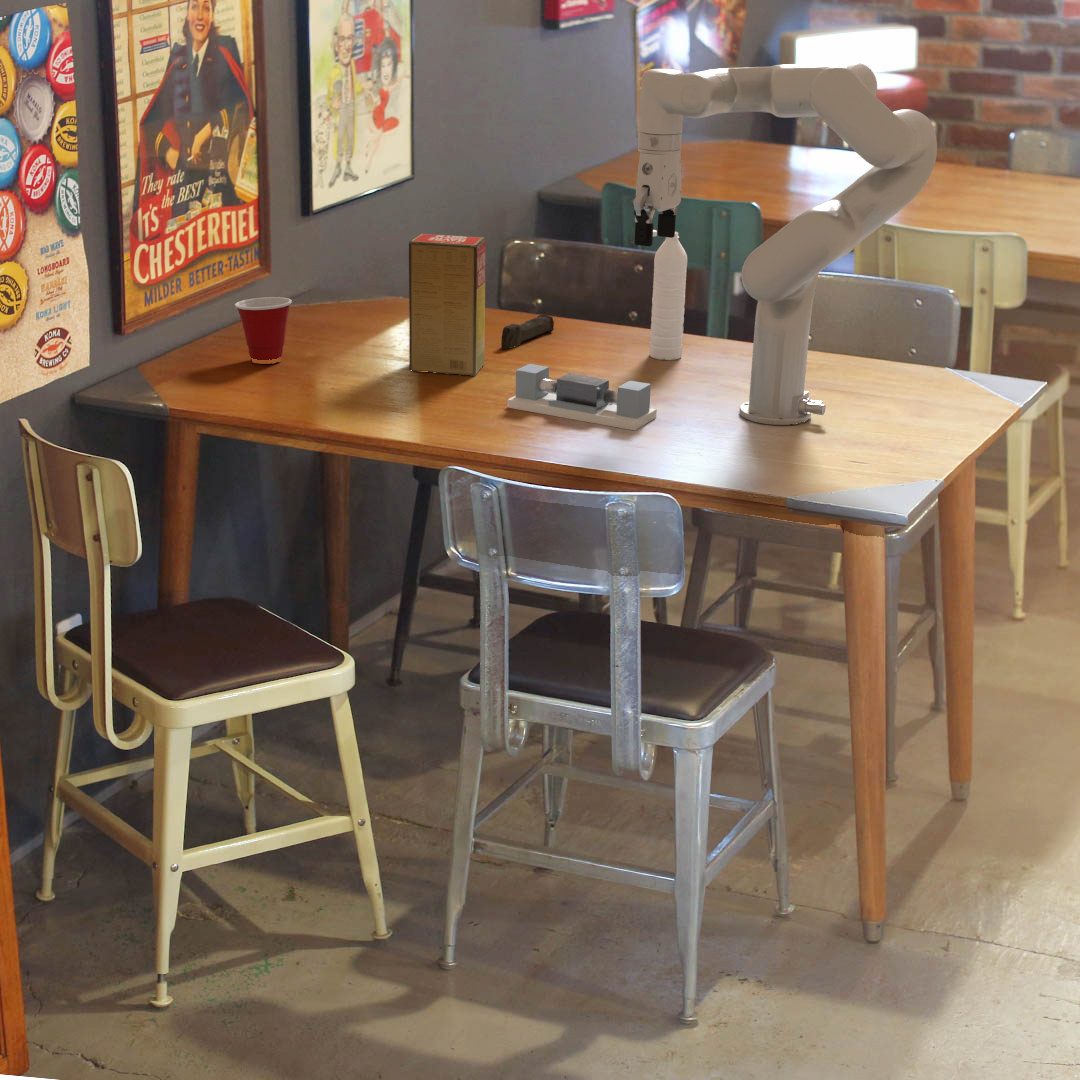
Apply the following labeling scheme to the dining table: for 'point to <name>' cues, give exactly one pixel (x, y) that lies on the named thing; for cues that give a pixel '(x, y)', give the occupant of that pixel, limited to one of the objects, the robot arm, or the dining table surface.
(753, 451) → the dining table surface
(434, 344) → the food packaging
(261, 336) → the plastic cup
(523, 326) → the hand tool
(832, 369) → the dining table surface
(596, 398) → the block
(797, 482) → the dining table surface
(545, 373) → the shaft stand
